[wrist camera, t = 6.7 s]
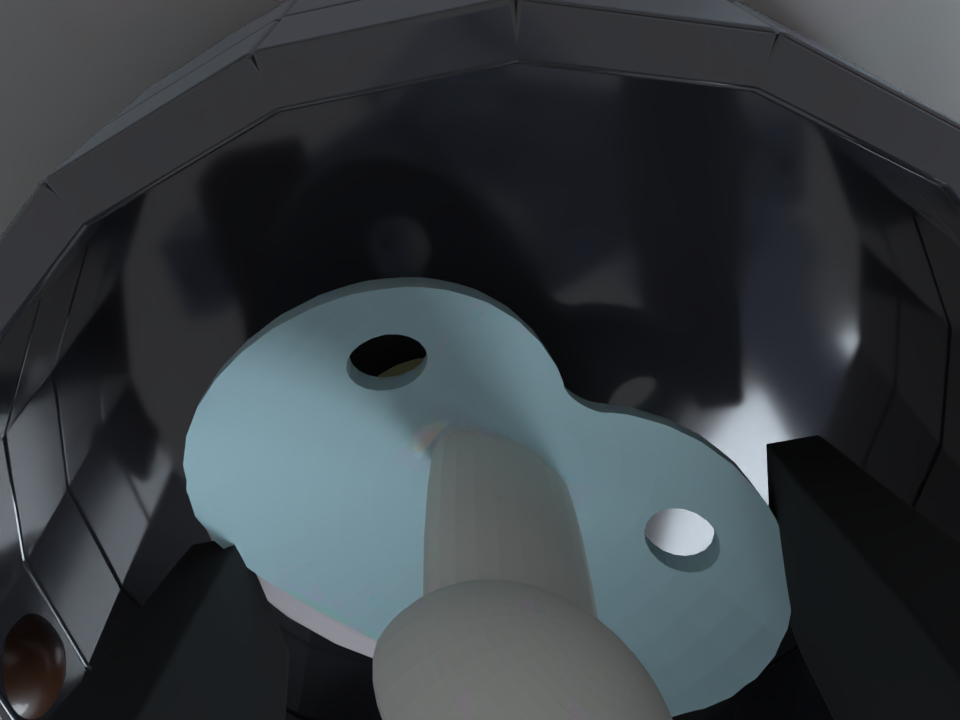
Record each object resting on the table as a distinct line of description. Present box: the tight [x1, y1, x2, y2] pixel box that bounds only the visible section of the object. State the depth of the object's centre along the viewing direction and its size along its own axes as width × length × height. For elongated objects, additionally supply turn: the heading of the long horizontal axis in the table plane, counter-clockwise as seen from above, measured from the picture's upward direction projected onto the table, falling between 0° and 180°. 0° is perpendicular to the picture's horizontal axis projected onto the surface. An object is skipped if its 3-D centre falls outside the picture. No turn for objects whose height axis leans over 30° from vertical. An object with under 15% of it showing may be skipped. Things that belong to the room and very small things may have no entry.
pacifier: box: [183, 277, 791, 720], centre depth 10 cm, size 7×6×6 cm
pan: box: [0, 0, 960, 720], centre depth 12 cm, size 13×13×4 cm
